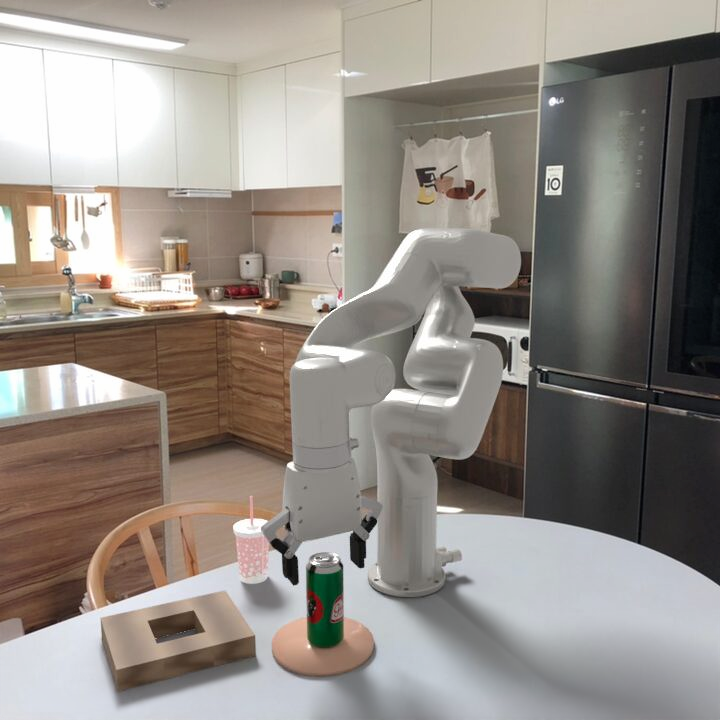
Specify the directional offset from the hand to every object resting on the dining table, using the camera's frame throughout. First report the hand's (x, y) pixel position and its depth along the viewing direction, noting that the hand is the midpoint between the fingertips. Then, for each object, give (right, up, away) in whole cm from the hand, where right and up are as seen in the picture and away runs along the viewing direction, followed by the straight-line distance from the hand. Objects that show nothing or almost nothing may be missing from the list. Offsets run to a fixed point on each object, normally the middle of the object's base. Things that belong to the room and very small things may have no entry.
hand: (325, 572), depth 104 cm
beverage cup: (-13, -7, +22) cm, 26 cm away
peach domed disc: (0, -11, +1) cm, 11 cm away
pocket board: (-21, -11, +1) cm, 23 cm away
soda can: (0, -10, +1) cm, 10 cm away
